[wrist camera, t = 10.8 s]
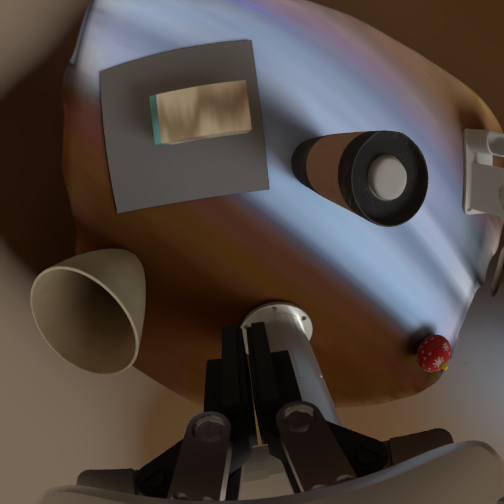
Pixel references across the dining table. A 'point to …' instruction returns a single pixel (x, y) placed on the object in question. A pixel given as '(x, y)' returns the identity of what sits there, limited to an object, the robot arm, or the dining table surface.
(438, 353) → the christmas ornament
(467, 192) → the phone holder
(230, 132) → the maple block
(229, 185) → the rubber mat
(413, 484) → the robot arm
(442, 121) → the dining table surface
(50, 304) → the plant pot
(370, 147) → the travel mug
